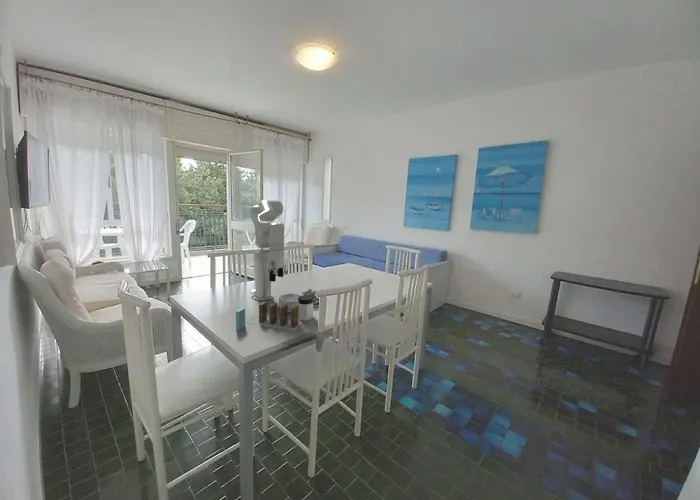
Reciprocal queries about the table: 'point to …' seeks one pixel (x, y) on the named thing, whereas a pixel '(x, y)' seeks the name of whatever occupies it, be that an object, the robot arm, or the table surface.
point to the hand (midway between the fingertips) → (276, 278)
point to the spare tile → (240, 319)
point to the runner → (255, 321)
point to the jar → (305, 307)
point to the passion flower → (312, 295)
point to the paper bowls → (289, 300)
